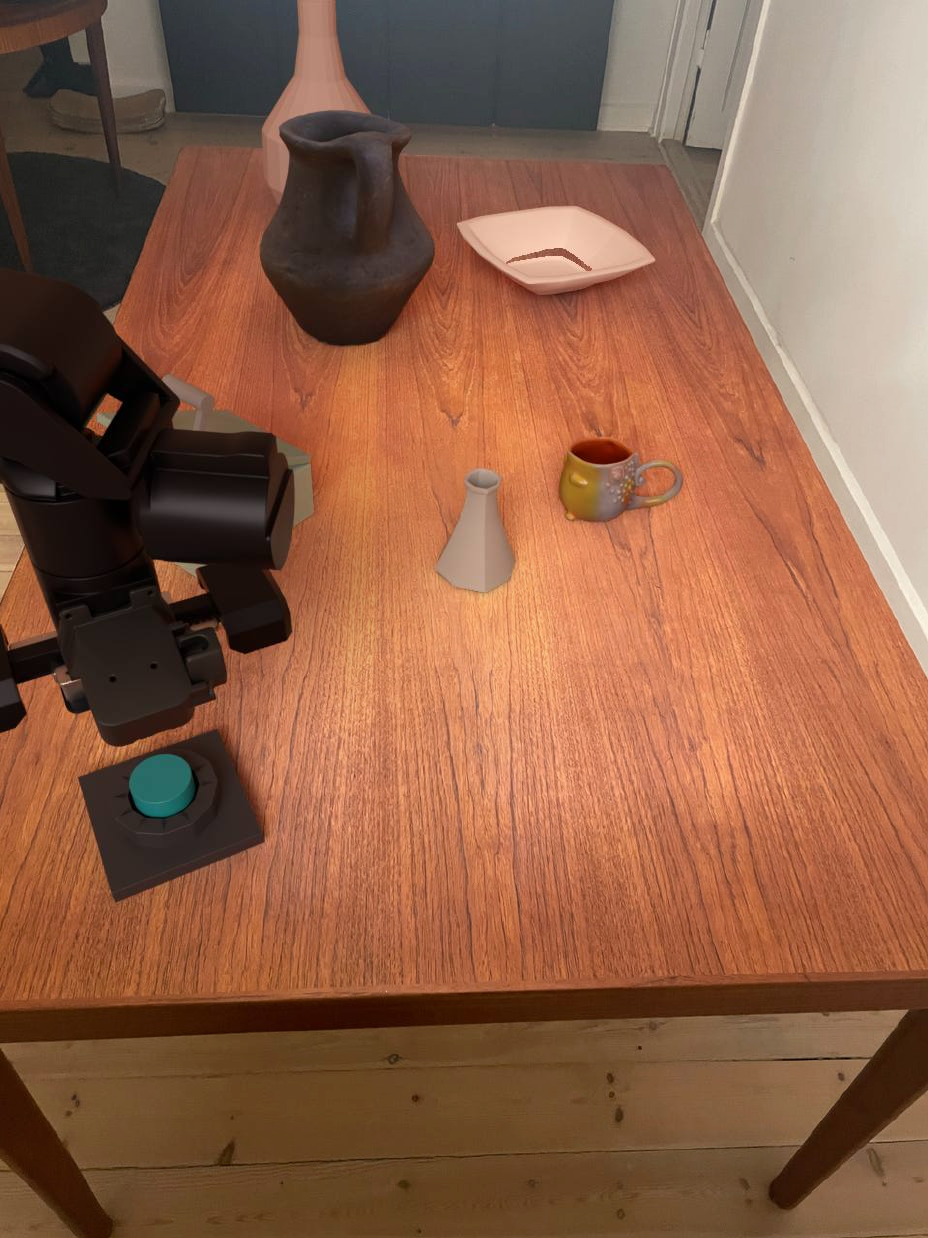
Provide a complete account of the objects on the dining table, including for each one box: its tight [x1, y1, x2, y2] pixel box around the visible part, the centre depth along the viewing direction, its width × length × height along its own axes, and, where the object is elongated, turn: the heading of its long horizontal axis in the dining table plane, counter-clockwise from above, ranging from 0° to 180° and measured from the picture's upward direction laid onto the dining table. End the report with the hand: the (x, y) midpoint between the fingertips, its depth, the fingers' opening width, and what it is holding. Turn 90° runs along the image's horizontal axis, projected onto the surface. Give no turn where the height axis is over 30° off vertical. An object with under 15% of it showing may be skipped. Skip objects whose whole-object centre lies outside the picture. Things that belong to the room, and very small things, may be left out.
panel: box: [77, 728, 265, 903], centre depth 62 cm, size 10×10×3 cm
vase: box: [261, 0, 372, 207], centre depth 128 cm, size 18×18×30 cm
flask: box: [434, 467, 516, 594], centre depth 80 cm, size 7×7×10 cm
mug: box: [558, 436, 684, 523], centre depth 89 cm, size 12×7×7 cm, turn 84°
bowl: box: [456, 205, 656, 296], centre depth 126 cm, size 22×23×6 cm
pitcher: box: [259, 110, 436, 346], centre depth 106 cm, size 21×22×25 cm
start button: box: [129, 754, 195, 818], centre depth 61 cm, size 4×4×2 cm
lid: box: [95, 373, 312, 465], centre depth 79 cm, size 14×12×5 cm
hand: (145, 732), depth 57 cm, fingers closed
